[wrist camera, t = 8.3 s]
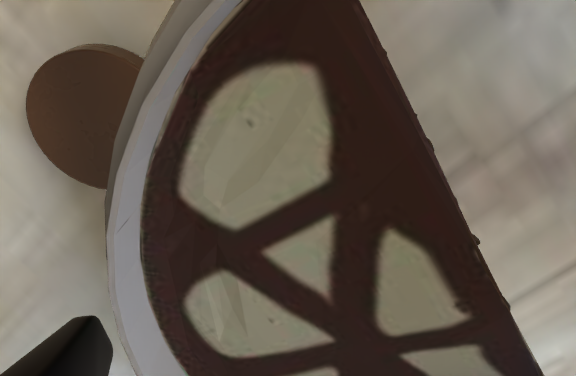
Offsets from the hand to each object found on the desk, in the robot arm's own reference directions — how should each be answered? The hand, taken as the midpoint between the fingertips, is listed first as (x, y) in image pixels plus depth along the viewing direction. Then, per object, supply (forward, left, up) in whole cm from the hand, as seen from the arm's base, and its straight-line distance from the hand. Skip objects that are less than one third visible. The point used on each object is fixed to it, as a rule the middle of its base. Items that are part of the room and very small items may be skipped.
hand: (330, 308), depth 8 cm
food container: (0, 0, -8) cm, 8 cm away
